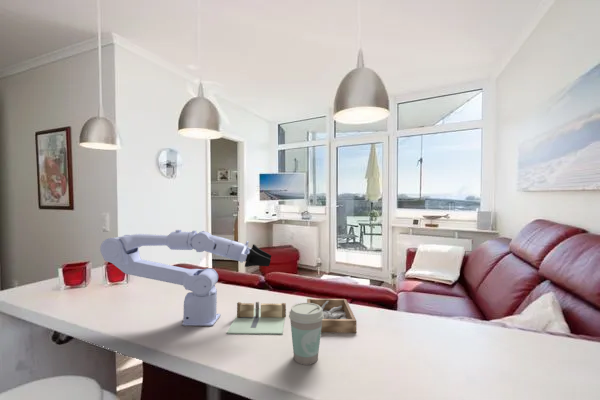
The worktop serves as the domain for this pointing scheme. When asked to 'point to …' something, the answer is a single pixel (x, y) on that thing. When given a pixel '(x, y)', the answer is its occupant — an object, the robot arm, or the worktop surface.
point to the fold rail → (273, 310)
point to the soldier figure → (331, 312)
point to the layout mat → (257, 325)
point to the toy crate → (337, 324)
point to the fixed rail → (247, 310)
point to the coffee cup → (306, 331)
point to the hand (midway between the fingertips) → (270, 260)
